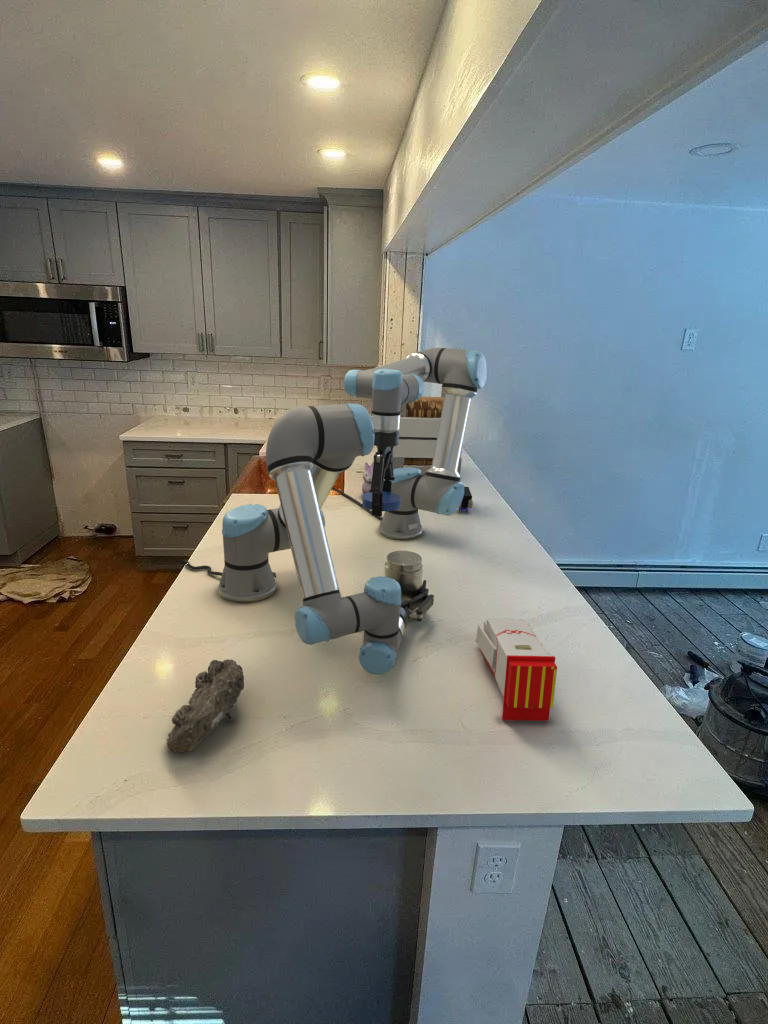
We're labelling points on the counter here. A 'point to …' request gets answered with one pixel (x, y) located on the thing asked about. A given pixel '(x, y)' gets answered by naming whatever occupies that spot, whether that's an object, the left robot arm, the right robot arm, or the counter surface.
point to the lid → (389, 501)
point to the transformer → (419, 432)
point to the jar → (405, 573)
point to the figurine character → (466, 500)
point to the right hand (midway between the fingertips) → (381, 509)
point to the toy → (519, 668)
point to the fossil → (206, 705)
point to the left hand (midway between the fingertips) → (405, 582)
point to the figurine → (367, 478)
